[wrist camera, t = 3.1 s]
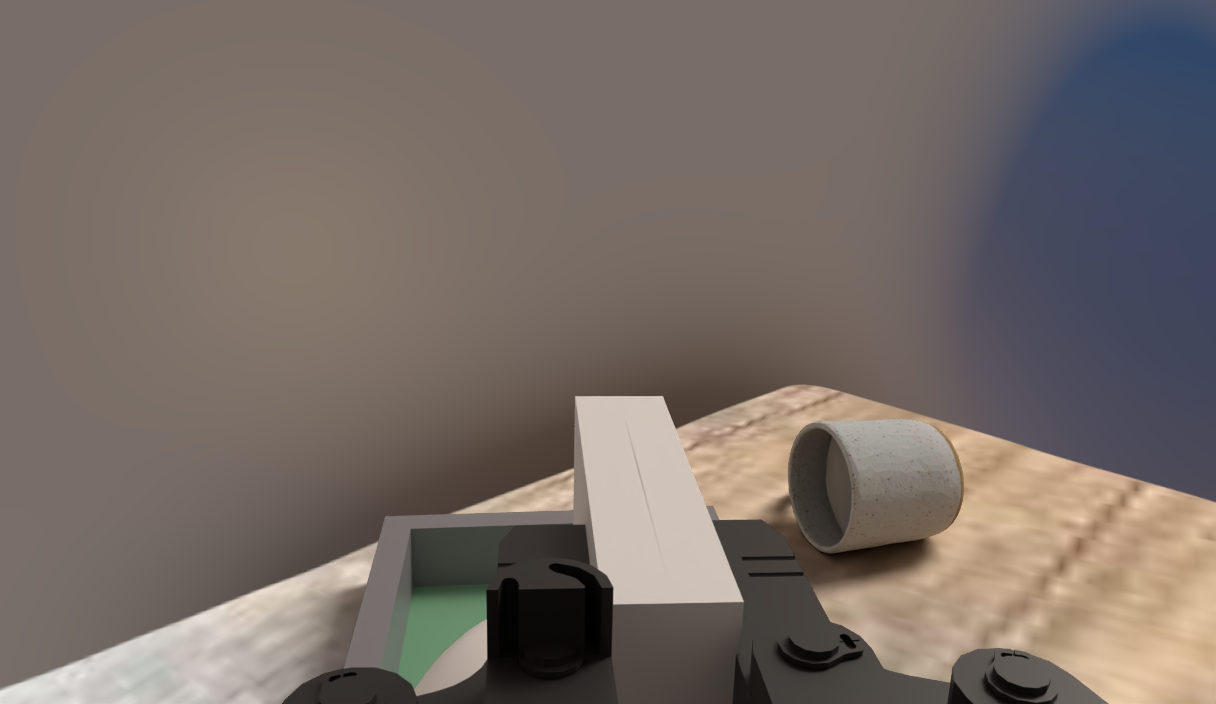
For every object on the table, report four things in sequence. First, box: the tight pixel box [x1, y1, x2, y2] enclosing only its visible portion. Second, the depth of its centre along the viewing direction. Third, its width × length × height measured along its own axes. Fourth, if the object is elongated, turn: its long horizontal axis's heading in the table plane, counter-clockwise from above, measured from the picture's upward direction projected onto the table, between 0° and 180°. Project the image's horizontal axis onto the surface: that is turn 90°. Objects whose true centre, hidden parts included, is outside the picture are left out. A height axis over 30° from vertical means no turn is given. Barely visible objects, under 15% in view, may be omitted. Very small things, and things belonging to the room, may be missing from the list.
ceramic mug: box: [788, 419, 964, 554], centre depth 58 cm, size 11×8×8 cm
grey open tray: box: [343, 506, 719, 674], centre depth 45 cm, size 18×16×4 cm
